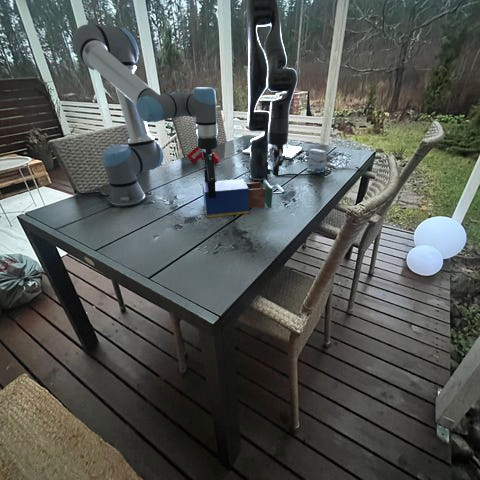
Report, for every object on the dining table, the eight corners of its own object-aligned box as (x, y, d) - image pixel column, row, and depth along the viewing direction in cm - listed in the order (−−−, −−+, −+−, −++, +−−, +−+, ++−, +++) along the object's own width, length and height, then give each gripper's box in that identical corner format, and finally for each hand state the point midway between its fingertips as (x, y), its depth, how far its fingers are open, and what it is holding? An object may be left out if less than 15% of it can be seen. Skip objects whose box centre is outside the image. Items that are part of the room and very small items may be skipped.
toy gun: (223, 158, 167) (209, 137, 163) (221, 160, 164) (206, 138, 160) (204, 173, 177) (189, 154, 173) (201, 175, 174) (186, 155, 170)
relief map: (291, 159, 177) (291, 151, 174) (243, 153, 190) (243, 145, 187) (302, 149, 197) (303, 142, 194) (258, 144, 211) (258, 137, 208)
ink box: (324, 171, 156) (327, 150, 149) (319, 173, 153) (323, 152, 146) (310, 168, 160) (313, 148, 154) (306, 170, 157) (309, 149, 151)
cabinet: (242, 202, 122) (242, 178, 116) (248, 213, 113) (248, 188, 107) (204, 206, 119) (202, 182, 113) (206, 217, 110) (204, 192, 104)
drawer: (277, 197, 123) (278, 178, 119) (284, 206, 115) (286, 186, 111) (229, 202, 120) (229, 182, 115) (234, 211, 112) (233, 191, 107)
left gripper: (194, 129, 108) (198, 180, 120) (199, 145, 88) (203, 204, 99) (213, 128, 109) (215, 179, 121) (222, 144, 89) (224, 203, 101)
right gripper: (263, 127, 107) (262, 170, 117) (274, 134, 97) (271, 181, 106) (281, 126, 109) (278, 169, 118) (294, 133, 98) (289, 179, 107)
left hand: (210, 190), depth 110 cm, fingers open, 13 cm apart
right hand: (275, 174), depth 112 cm, fingers closed
